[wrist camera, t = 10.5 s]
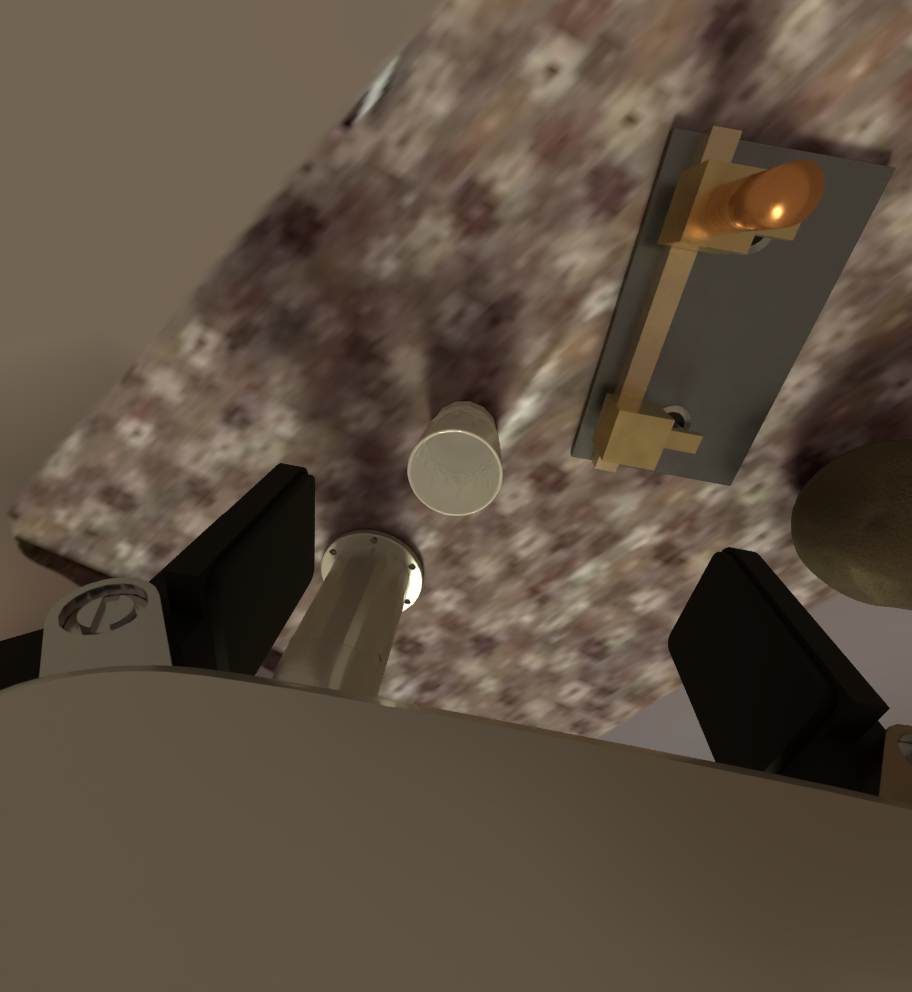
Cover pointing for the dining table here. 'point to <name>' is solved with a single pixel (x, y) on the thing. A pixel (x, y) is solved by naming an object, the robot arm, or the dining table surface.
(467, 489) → the white cup
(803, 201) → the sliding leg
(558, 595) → the dining table surface
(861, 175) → the grey sliding latch board
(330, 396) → the dining table surface
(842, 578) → the dimpled olive sphere
